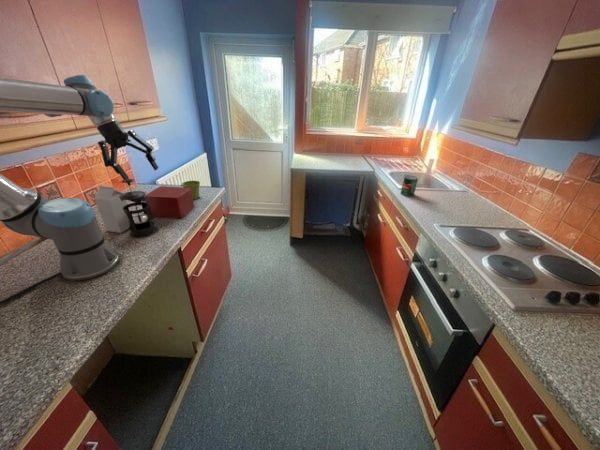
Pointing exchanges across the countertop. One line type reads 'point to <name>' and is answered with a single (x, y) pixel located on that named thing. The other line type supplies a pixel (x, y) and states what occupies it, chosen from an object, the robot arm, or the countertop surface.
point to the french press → (138, 220)
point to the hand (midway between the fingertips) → (141, 174)
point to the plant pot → (193, 188)
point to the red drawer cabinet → (170, 202)
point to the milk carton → (112, 209)
